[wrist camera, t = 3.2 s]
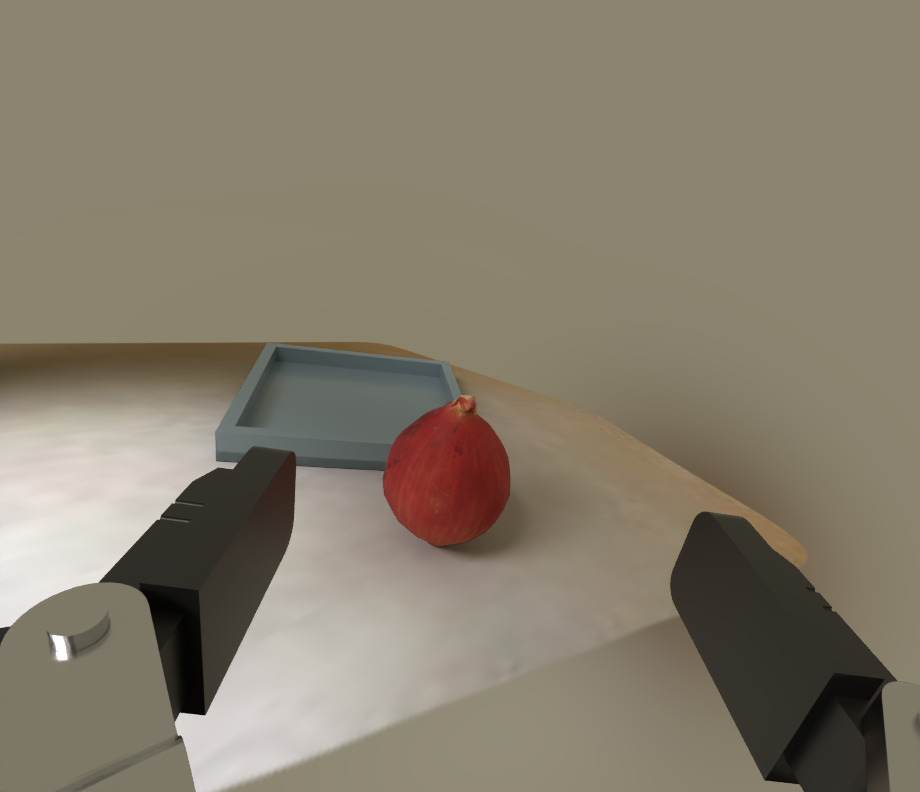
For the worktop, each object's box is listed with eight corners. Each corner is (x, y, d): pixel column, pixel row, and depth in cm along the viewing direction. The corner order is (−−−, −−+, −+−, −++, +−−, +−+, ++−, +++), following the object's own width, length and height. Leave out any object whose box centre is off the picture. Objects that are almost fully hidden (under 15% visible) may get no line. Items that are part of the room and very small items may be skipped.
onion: (350, 549, 23) (368, 391, 20) (412, 491, 28) (434, 358, 24) (464, 606, 21) (504, 441, 18) (508, 533, 26) (545, 394, 23)
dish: (216, 460, 27) (215, 432, 26) (266, 362, 40) (267, 342, 40) (479, 475, 30) (484, 450, 30) (445, 380, 44) (448, 362, 43)
